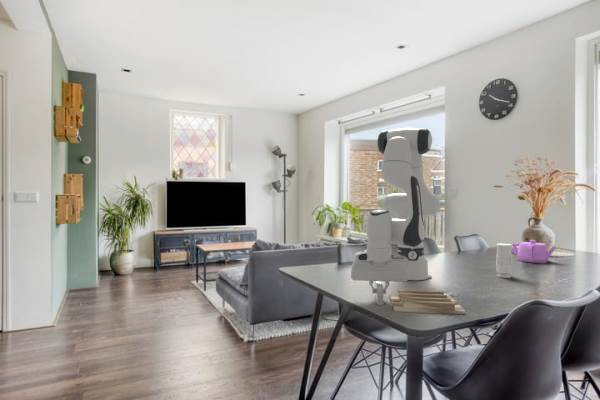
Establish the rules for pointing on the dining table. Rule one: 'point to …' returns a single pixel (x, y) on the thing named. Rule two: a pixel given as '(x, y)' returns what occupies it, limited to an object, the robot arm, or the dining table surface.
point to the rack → (424, 302)
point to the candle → (504, 260)
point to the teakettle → (532, 251)
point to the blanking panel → (379, 292)
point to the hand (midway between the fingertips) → (379, 293)
